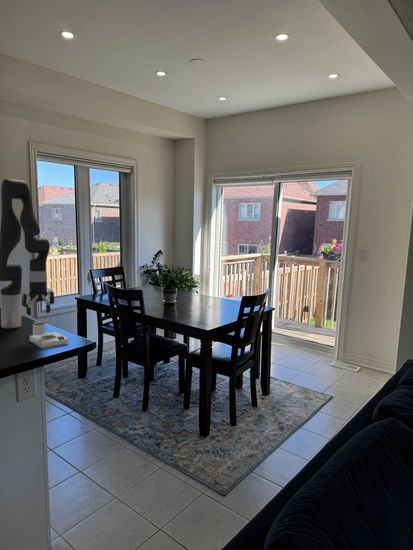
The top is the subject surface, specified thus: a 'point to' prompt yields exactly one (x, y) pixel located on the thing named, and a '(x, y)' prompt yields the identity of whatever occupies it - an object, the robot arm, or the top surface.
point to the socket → (48, 340)
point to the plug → (38, 327)
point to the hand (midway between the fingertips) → (38, 314)
